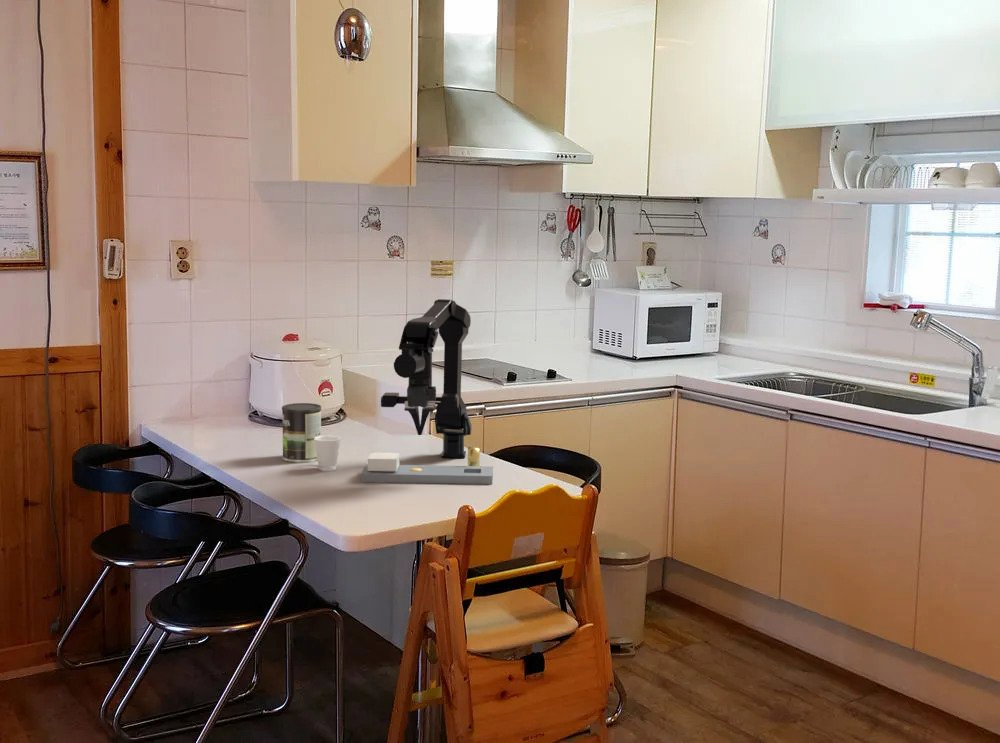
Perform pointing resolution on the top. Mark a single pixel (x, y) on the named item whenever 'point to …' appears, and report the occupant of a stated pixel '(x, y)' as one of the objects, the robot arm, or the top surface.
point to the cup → (327, 451)
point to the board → (431, 474)
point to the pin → (473, 456)
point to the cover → (383, 462)
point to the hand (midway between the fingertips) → (419, 434)
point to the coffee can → (300, 431)
